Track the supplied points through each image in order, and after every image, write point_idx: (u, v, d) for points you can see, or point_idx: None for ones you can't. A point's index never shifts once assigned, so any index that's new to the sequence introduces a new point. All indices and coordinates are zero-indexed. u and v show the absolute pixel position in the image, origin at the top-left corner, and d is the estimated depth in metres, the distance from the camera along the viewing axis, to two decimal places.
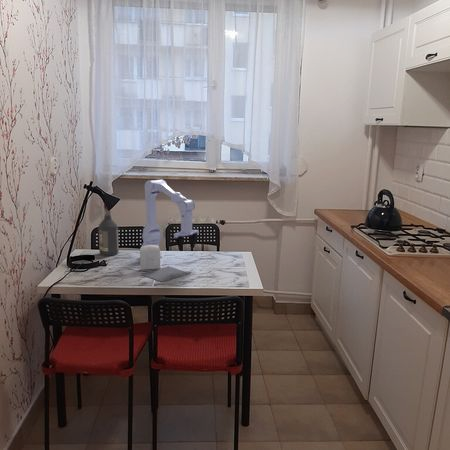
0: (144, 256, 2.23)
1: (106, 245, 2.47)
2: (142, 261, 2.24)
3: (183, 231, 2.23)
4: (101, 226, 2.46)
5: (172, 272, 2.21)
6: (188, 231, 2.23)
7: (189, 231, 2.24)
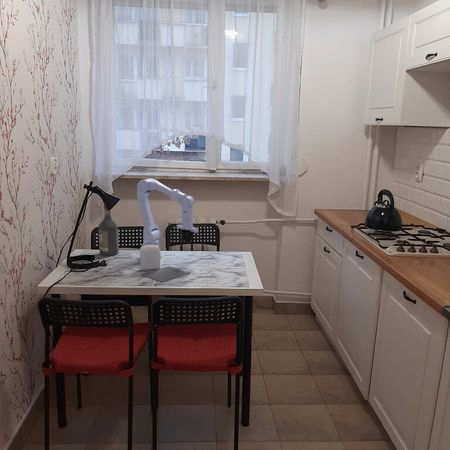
0: (144, 256, 2.23)
1: (106, 245, 2.47)
2: (142, 261, 2.24)
3: None
4: (101, 226, 2.46)
5: (172, 272, 2.21)
6: (182, 225, 2.35)
7: (183, 226, 2.34)
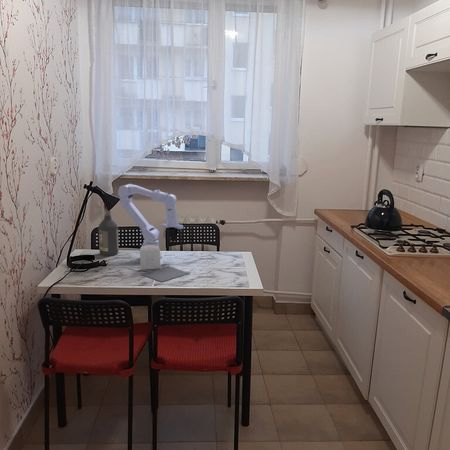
0: (144, 256, 2.23)
1: (106, 245, 2.47)
2: (142, 261, 2.24)
3: None
4: (101, 226, 2.46)
5: (172, 272, 2.21)
6: (167, 223, 2.40)
7: (168, 224, 2.39)
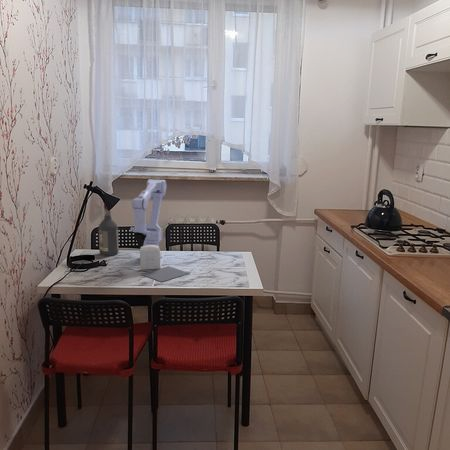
0: (144, 256, 2.23)
1: (106, 245, 2.47)
2: (142, 261, 2.24)
3: None
4: (101, 226, 2.46)
5: (172, 272, 2.21)
6: (135, 228, 2.27)
7: (135, 228, 2.26)
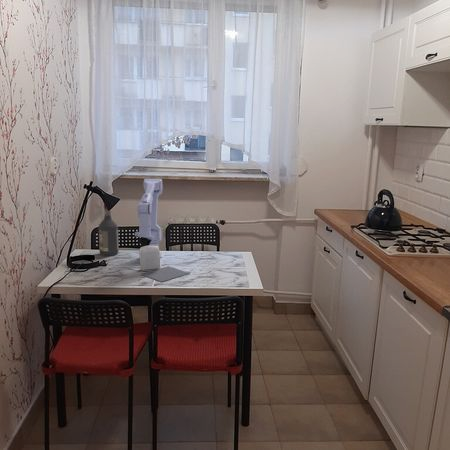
0: (143, 257, 2.22)
1: (106, 245, 2.47)
2: (142, 262, 2.23)
3: None
4: (101, 226, 2.46)
5: (172, 272, 2.21)
6: (139, 233, 2.24)
7: (140, 233, 2.24)
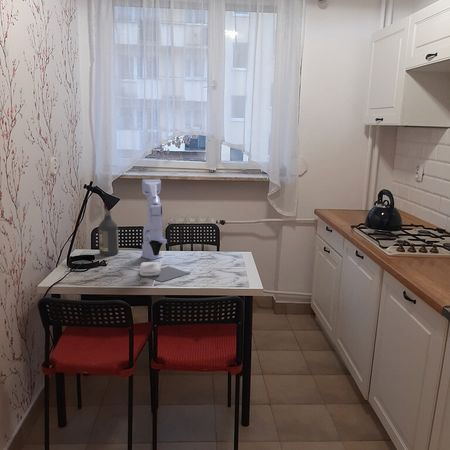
0: None
1: (106, 245, 2.47)
2: None
3: None
4: (101, 226, 2.46)
5: (172, 272, 2.21)
6: (150, 236, 2.19)
7: (151, 236, 2.18)
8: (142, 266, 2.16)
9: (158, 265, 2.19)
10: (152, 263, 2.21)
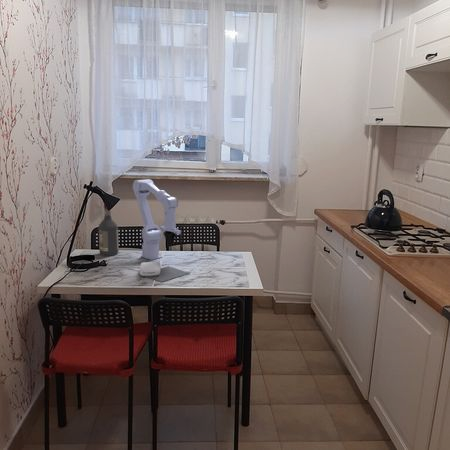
0: None
1: (106, 245, 2.47)
2: None
3: None
4: (101, 226, 2.46)
5: (172, 272, 2.21)
6: (165, 227, 2.31)
7: (165, 227, 2.30)
8: (142, 266, 2.16)
9: (158, 265, 2.19)
10: (152, 263, 2.21)
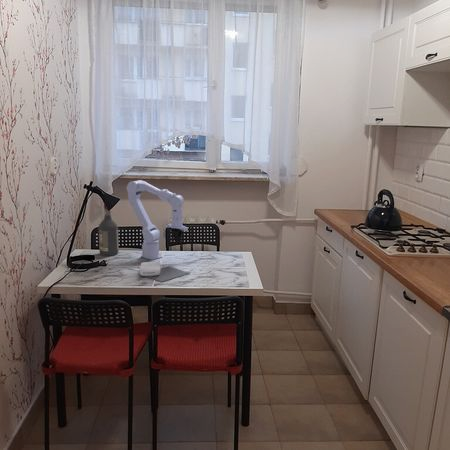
0: None
1: (106, 245, 2.47)
2: None
3: None
4: (101, 226, 2.46)
5: (172, 272, 2.21)
6: (172, 224, 2.37)
7: (172, 224, 2.37)
8: (142, 266, 2.16)
9: (158, 265, 2.19)
10: (152, 263, 2.21)
